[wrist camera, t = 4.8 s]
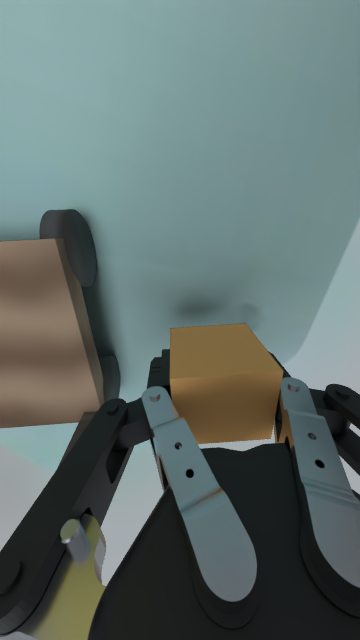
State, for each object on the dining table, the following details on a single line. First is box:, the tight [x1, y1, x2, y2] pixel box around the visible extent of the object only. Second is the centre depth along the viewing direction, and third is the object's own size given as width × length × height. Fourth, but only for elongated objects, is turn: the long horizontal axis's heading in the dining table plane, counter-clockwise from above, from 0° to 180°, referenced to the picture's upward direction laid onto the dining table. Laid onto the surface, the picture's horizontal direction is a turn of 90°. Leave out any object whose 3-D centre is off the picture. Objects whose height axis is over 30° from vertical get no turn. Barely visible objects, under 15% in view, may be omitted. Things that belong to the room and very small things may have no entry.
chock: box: [170, 323, 283, 444], centre depth 12 cm, size 5×4×5 cm
